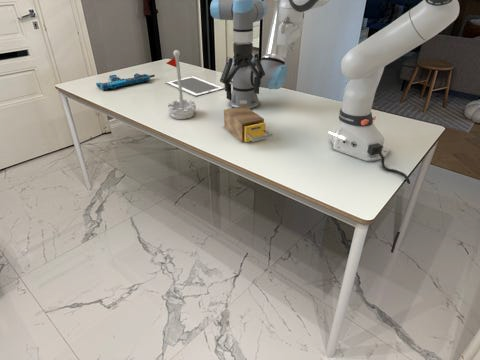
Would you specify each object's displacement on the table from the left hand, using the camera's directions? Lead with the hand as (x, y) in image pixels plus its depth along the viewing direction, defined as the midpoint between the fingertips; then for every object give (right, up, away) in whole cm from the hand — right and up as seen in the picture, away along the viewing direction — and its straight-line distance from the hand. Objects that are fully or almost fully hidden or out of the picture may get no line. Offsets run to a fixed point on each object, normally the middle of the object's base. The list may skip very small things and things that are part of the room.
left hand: (243, 96), depth 142 cm
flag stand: (-29, -3, +24) cm, 38 cm away
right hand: (+18, +14, -9) cm, 24 cm away
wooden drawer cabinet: (0, -14, +7) cm, 16 cm away
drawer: (+3, -16, +2) cm, 17 cm away
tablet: (-29, +21, +61) cm, 71 cm away
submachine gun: (-72, +25, +68) cm, 102 cm away
